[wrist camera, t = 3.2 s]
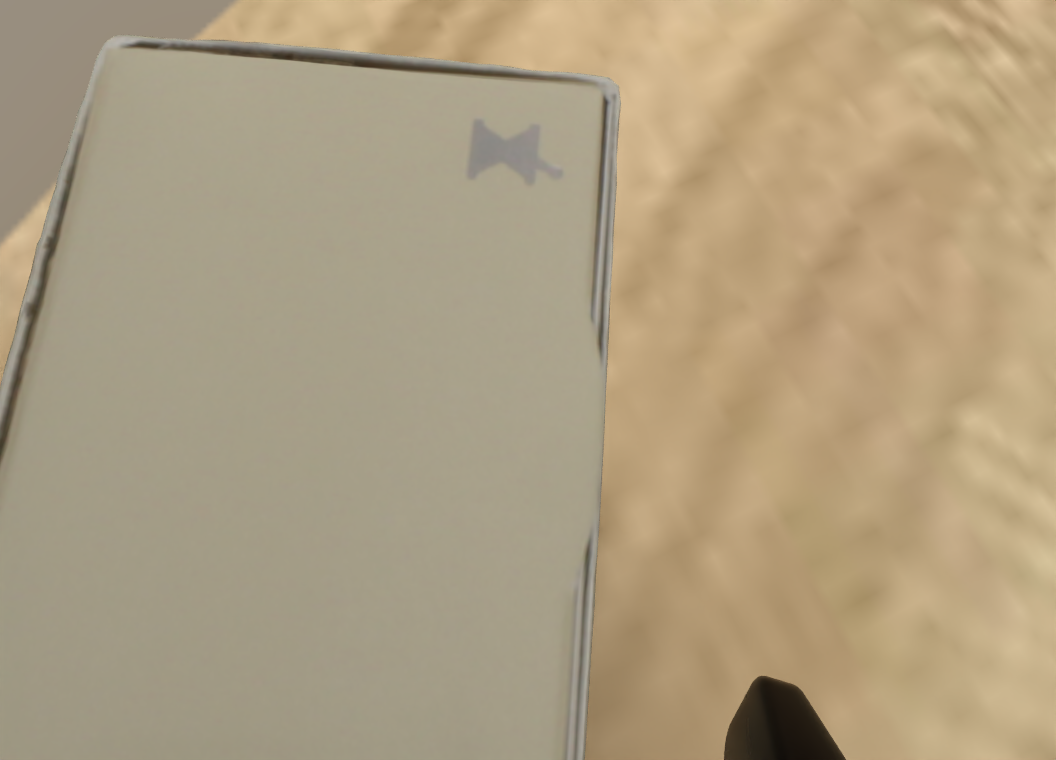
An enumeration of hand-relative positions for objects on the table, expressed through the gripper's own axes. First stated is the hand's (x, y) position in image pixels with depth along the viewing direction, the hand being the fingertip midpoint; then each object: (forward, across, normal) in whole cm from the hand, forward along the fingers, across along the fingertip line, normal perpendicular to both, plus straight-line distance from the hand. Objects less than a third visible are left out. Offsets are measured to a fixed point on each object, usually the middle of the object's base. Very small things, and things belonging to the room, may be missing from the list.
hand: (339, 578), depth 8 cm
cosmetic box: (+7, 0, +6) cm, 9 cm away
